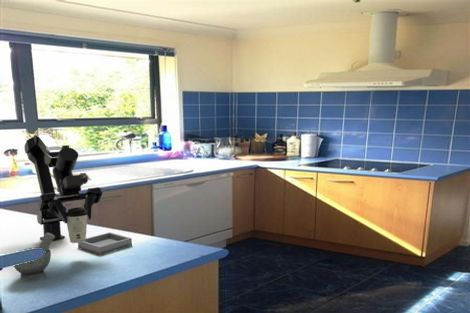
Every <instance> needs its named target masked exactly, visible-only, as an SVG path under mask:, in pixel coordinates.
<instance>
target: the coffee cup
mask: <svg viewBox="0 0 470 313" xmlns="http://www.w3.org/2000/svg"><path fill="white" fill-rule="evenodd" d="M65 215H66V218H67V223H66V227H67V231H68V232H67V233H68V237H69V242H70V243H72V244H78V243H80V242H84V241H85V240H86V238H87V228H88V226H87V225H88V217H87V215H88V211H86V210H85V208H84V207H81V206H80V207H77V206H76V207H72V208H68V210H67V211H66V213H65Z"/></svg>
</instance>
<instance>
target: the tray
mask: <svg viewBox="0 0 470 313" xmlns="http://www.w3.org/2000/svg"><path fill="white" fill-rule="evenodd" d="M132 245H133V242H132V237H129V236H125V235H121V234H117V233H114V232H110V231H109V232H106V233H102V234H98V235H94V236H91V237H90V236H89V237H86V240H85V241H84V242H80V243H77V246H78V249H80V248H81V250H83V251H87V252H89V253H92V252H93V254H95V253H96V255H98V254H99V256H101V255H104V253H105V254H107V253H111V252H115V251H119V250H122V249H124V248H128V247H131V246H132ZM114 250H115V251H114ZM100 254H101V255H100Z"/></svg>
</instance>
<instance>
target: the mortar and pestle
mask: <svg viewBox="0 0 470 313" xmlns="http://www.w3.org/2000/svg"><path fill="white" fill-rule="evenodd" d="M43 237H44V236H43ZM54 238H55V236H54V235H53V234H51V233H45V237H44V239H43V240H42V239H41V242H40V244H39V246H38V247H37V248H42V249H44V250H45V251H46V253H45V255H44V256H43V257H41V258H39V259H37V260H34V261H30V262H27V263H22V264H19V265H15V266H13V267H14V269H15V270H16V271H17V272H18V273H19V274H20V275H19V276H20V280H22V281H23V282H33V281H37V280H40V279H43V278H44V277H45V276H46V272H45V269H46V268H47V267H48V266H49V264H50V262H51V256H52V252H51V251H52V250H51V249H50V246H51V244H52V242H53V241H52V240H53V239H54ZM32 248H33V247H31V248H29V249H32ZM27 249H28V248H25V249H22V250H27ZM22 250H20V251H22Z"/></svg>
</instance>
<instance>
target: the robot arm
mask: <svg viewBox="0 0 470 313" xmlns="http://www.w3.org/2000/svg"><path fill="white" fill-rule="evenodd" d="M24 152H25V154H26V155H27V158H28V160H29V161H30V162H31V163H32V164H34V168H35V172H36V176H37V181H38V185H39V186H38V187H39V190H40V195H39V200H38V203H37V204H38V212H37V215H36V222H37V224H39V225H41V226H42V228H43V229H42V230H43V236H41V237H39V239H40V240H41V241H42V240H43V239H44V237H45V233H51V234H53V235H54V236H55V238H54V239H53V240H52V242H53V241H57V240H62V239H65V238H66V236H65V235H62V231H61V230H62V228H61V223H62V222H63V223H64V224H66V225H67V218H66V215H65V213H66V212H67V208H66V205H65V204H64V203H69V202H70V203H71V202H78V201H84V204H83V208H84V209H85V210H86V211H88V215H87V220H89V221H90V220H91V219H92V206H93V205H94V204H98V203H99V202H100V201H101V198H102V196H103V190H102V188H101V187H99V186H98V187H97V186H95V187H90V188H87V191H86V192H84V193H80V192H81V191H82V186H83V185H86V184H87V183H88V182H89V179H88V176H87V173H86V172H82V173H81V172H80V173H79V174H75V175H74V174H73V171H74V170H75V168H76V164H77V162H78V158H79V153H78V151H77V150H76V149H74V148H71V147H70V146H69V145H65V144H64V145H62V146H58V145H57V143H56V142H55V141H54V140H53V138H51V134H50V133H47V132H45V133H44V132H43V133H41V132H40V133H36V134H34V135H33V136H32V137H31V138H29V139H27V140H26V142H25V144H24ZM50 168H52V175H53V178H52V175H51V170H50ZM53 179H54V181H55V183H56V187H57V188H56V191H57V192H58V194H57V193H56V192H55V187H54V182H53Z"/></svg>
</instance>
